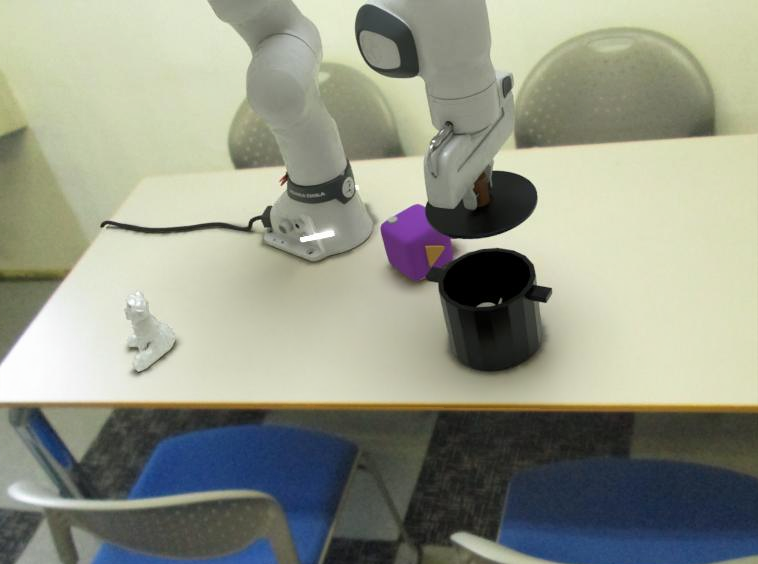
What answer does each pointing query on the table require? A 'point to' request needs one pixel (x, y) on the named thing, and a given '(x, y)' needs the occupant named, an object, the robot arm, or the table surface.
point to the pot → (491, 307)
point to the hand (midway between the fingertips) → (478, 198)
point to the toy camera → (415, 243)
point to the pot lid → (487, 208)
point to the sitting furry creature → (146, 332)
